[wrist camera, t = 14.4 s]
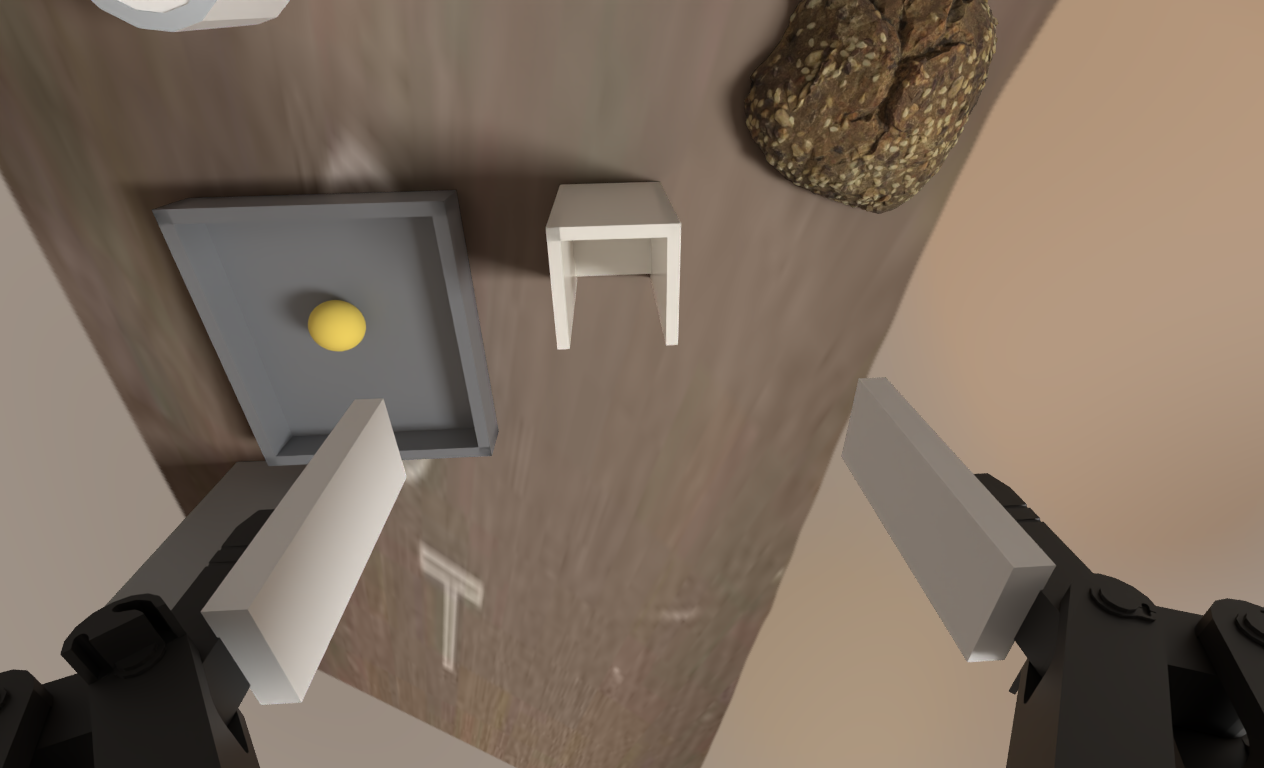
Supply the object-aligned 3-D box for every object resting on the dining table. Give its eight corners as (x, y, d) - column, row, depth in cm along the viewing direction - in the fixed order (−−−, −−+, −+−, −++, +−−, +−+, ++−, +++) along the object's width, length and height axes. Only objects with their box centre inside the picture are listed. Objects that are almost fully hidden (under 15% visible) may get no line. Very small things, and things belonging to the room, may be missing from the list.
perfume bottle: (327, 458, 42) (166, 690, 26) (350, 523, 45) (220, 761, 30) (237, 461, 42) (21, 697, 26) (267, 526, 45) (92, 768, 30)
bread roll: (873, 234, 35) (911, 257, 31) (715, 134, 32) (733, 145, 28) (1028, 29, 30) (1100, 23, 26) (859, -118, 27) (908, -153, 22)
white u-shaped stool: (560, 184, 33) (545, 227, 24) (660, 181, 33) (681, 223, 24) (568, 280, 36) (557, 349, 27) (659, 277, 36) (677, 344, 27)
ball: (326, 324, 36) (302, 292, 33) (375, 319, 36) (356, 286, 34) (319, 364, 34) (293, 333, 32) (371, 358, 35) (350, 326, 32)
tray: (187, 198, 32) (151, 209, 29) (456, 190, 32) (443, 201, 30) (289, 440, 41) (268, 466, 38) (498, 431, 41) (491, 455, 39)
